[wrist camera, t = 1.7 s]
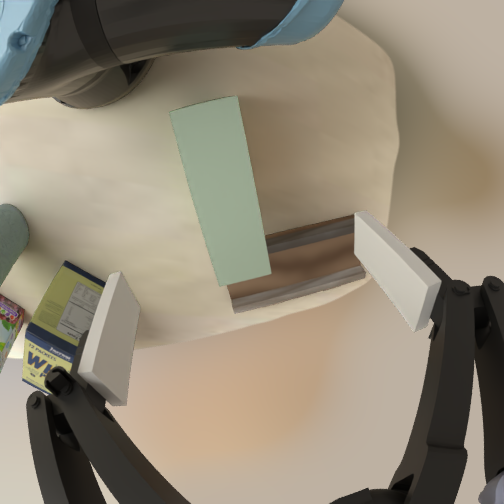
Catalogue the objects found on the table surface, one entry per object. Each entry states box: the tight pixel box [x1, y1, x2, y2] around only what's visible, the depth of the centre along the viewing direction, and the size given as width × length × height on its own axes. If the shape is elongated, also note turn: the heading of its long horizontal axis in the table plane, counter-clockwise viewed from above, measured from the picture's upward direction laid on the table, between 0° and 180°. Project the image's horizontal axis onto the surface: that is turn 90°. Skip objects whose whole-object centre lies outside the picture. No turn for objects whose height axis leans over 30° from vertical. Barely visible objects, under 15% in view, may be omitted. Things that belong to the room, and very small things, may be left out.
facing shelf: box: [227, 215, 366, 314], centre depth 42 cm, size 11×22×3 cm, turn 100°
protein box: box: [22, 261, 106, 395], centre depth 35 cm, size 10×16×16 cm
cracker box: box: [169, 96, 271, 287], centre depth 28 cm, size 16×5×14 cm, turn 10°
